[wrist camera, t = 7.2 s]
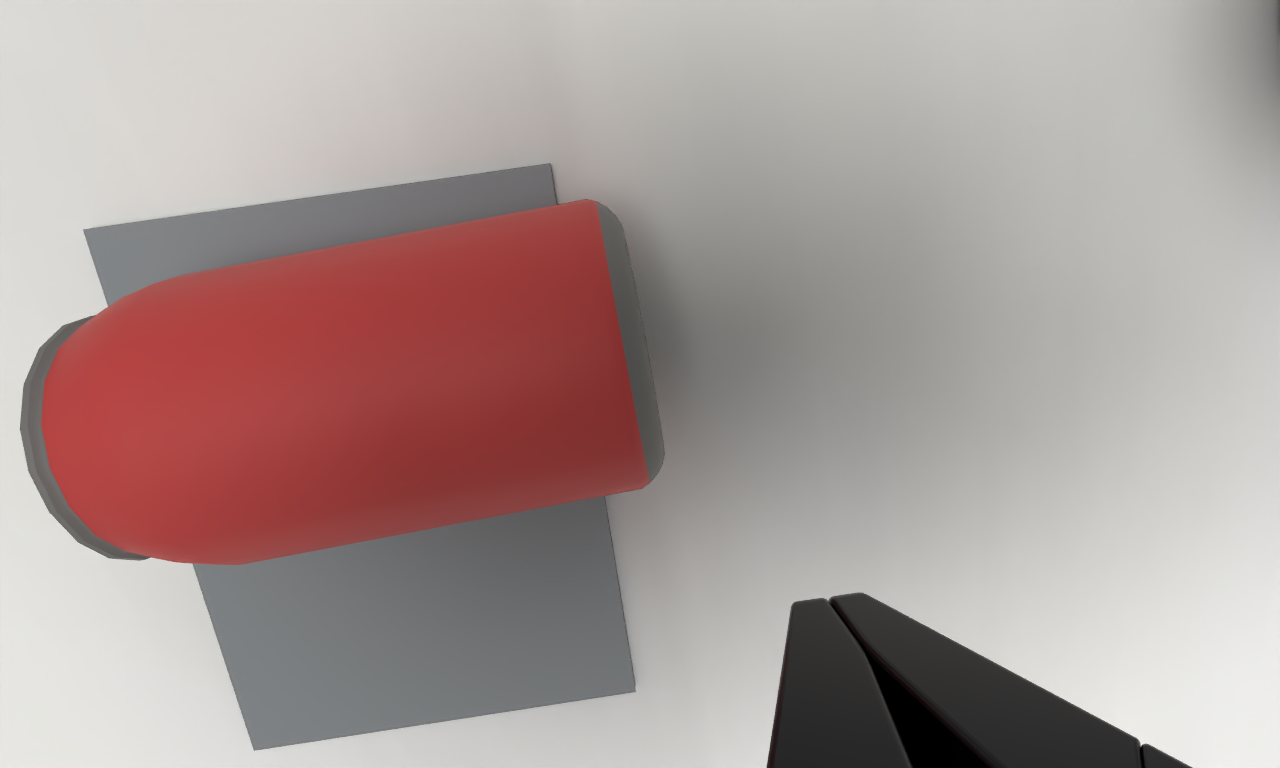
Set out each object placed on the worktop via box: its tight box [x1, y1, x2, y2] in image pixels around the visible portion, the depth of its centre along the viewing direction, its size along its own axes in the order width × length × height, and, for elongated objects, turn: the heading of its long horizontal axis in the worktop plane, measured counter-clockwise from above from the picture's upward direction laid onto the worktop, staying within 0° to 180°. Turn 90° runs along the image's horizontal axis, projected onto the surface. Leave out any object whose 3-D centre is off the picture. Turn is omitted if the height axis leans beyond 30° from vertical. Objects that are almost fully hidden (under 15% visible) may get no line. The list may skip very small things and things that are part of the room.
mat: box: [83, 164, 636, 751], centre depth 20 cm, size 12×16×1 cm
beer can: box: [20, 199, 665, 565], centre depth 16 cm, size 7×7×12 cm
